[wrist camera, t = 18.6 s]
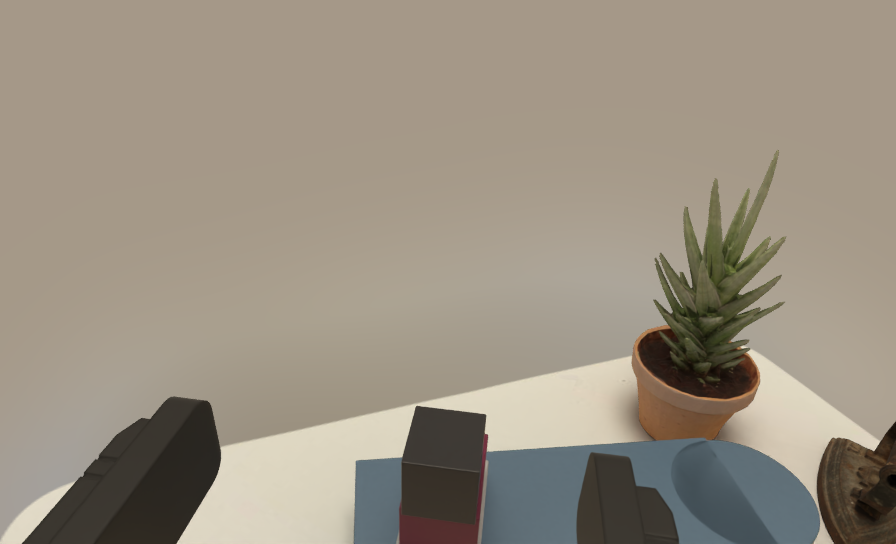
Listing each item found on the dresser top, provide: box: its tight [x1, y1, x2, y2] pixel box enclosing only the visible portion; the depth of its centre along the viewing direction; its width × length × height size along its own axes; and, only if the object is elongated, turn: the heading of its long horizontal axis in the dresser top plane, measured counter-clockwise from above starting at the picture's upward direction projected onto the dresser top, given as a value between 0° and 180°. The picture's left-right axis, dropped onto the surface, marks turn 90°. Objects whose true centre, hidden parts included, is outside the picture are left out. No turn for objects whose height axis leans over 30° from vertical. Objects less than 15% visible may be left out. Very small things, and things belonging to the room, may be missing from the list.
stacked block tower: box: [396, 406, 489, 544], centre depth 33 cm, size 9×5×9 cm, turn 172°
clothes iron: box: [817, 422, 896, 544], centre depth 40 cm, size 7×11×10 cm, turn 137°
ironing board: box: [354, 438, 820, 544], centre depth 37 cm, size 30×10×5 cm, turn 97°
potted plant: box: [632, 150, 786, 441], centre depth 43 cm, size 10×10×25 cm
